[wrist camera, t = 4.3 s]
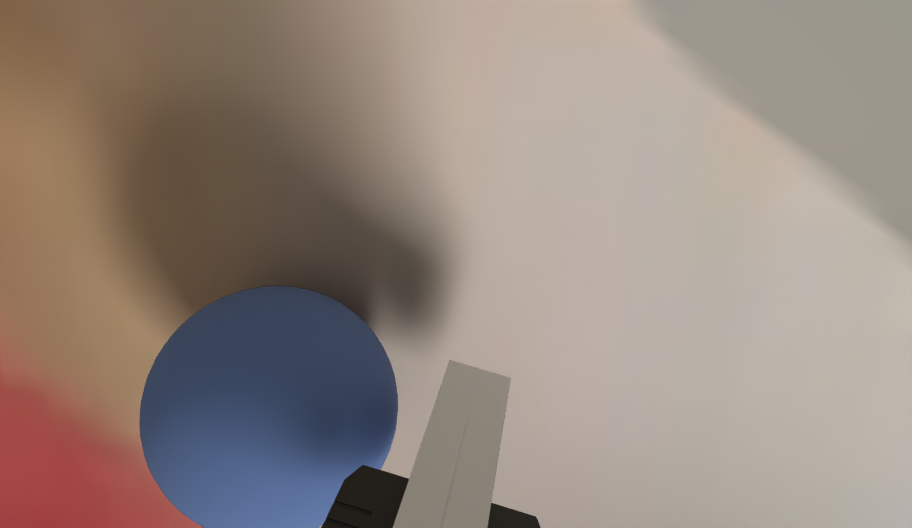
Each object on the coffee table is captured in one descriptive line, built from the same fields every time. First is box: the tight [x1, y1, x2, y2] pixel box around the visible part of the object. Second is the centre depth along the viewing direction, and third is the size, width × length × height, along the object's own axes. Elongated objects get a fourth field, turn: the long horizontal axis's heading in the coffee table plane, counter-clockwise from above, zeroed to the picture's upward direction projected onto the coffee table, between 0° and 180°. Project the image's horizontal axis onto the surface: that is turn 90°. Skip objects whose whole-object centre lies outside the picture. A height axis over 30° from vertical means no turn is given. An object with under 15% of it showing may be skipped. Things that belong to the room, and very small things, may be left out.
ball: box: [140, 286, 398, 528], centre depth 15 cm, size 6×6×6 cm
